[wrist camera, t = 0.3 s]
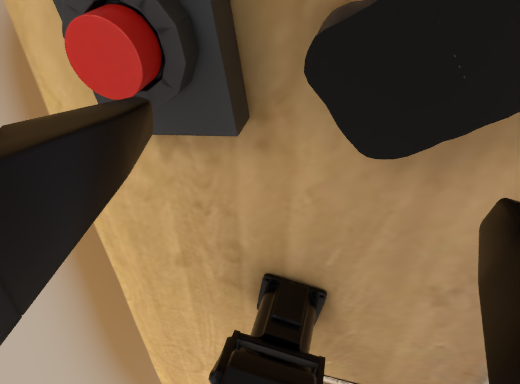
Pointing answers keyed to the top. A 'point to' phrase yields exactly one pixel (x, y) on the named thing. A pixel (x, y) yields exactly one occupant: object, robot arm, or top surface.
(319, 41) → the black sponge
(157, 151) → the top surface
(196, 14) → the grey button base
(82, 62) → the power button
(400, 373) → the top surface
